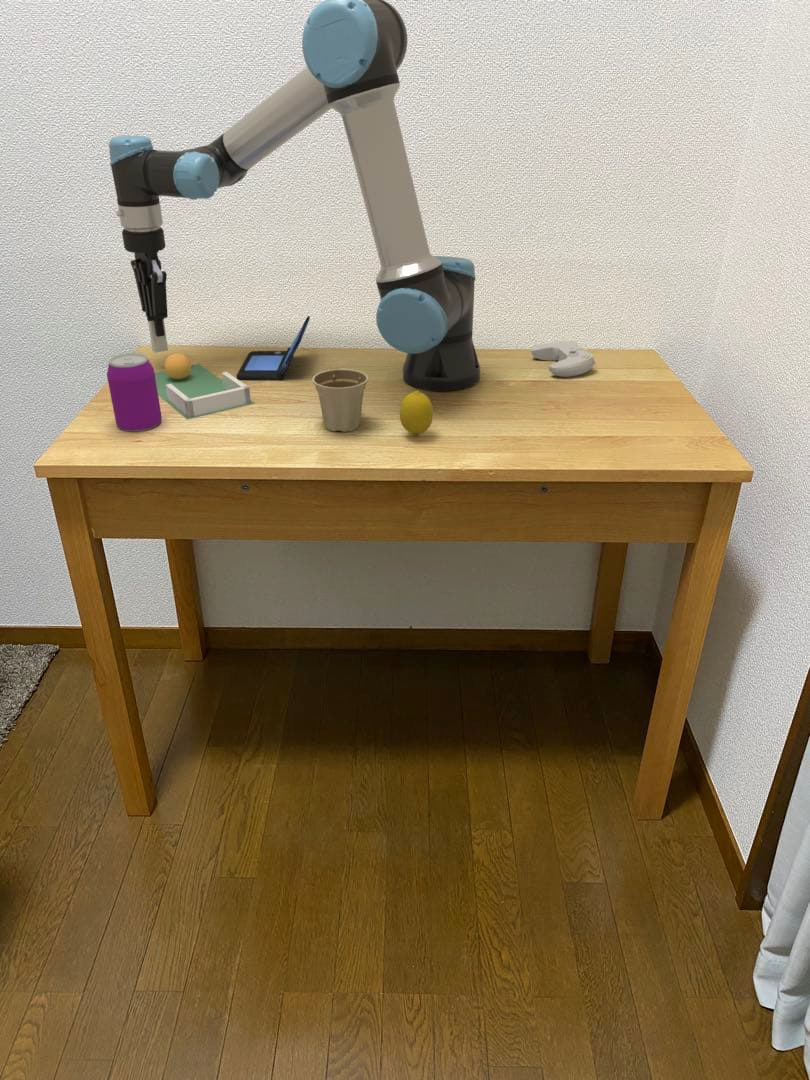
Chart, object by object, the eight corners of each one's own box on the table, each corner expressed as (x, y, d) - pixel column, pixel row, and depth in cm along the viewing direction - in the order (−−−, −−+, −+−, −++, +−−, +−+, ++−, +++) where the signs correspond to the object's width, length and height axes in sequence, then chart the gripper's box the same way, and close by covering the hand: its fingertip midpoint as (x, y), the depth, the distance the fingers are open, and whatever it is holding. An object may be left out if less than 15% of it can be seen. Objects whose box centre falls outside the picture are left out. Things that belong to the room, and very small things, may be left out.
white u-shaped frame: (251, 403, 155) (249, 387, 154) (188, 417, 150) (186, 401, 148) (228, 386, 163) (226, 371, 161) (168, 400, 157) (165, 384, 155)
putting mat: (254, 405, 156) (254, 403, 155) (187, 421, 149) (187, 419, 149) (199, 365, 174) (198, 363, 174) (137, 378, 168) (136, 376, 167)
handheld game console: (250, 357, 179) (245, 313, 175) (313, 357, 179) (310, 314, 174) (235, 383, 166) (230, 337, 161) (303, 384, 166) (300, 337, 161)
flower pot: (333, 411, 153) (331, 365, 149) (379, 420, 149) (378, 373, 145) (304, 430, 146) (301, 382, 141) (351, 440, 142) (350, 391, 138)
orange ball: (196, 379, 166) (193, 355, 163) (172, 385, 163) (168, 360, 161) (186, 372, 169) (183, 348, 167) (162, 377, 167) (158, 352, 164)
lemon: (433, 429, 146) (434, 385, 142) (431, 443, 141) (432, 397, 137) (401, 428, 146) (401, 384, 142) (398, 442, 142) (397, 396, 137)
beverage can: (115, 420, 150) (102, 354, 144) (159, 414, 152) (149, 349, 146) (119, 437, 144) (105, 369, 137) (165, 430, 146) (154, 363, 140)
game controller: (526, 343, 176) (571, 330, 177) (529, 363, 179) (573, 349, 180) (552, 366, 164) (600, 351, 165) (555, 387, 167) (602, 372, 168)
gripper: (111, 224, 161) (131, 345, 173) (134, 236, 152) (153, 363, 164) (149, 219, 165) (166, 338, 177) (174, 231, 156) (190, 356, 168)
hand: (160, 350), depth 171 cm, fingers closed
